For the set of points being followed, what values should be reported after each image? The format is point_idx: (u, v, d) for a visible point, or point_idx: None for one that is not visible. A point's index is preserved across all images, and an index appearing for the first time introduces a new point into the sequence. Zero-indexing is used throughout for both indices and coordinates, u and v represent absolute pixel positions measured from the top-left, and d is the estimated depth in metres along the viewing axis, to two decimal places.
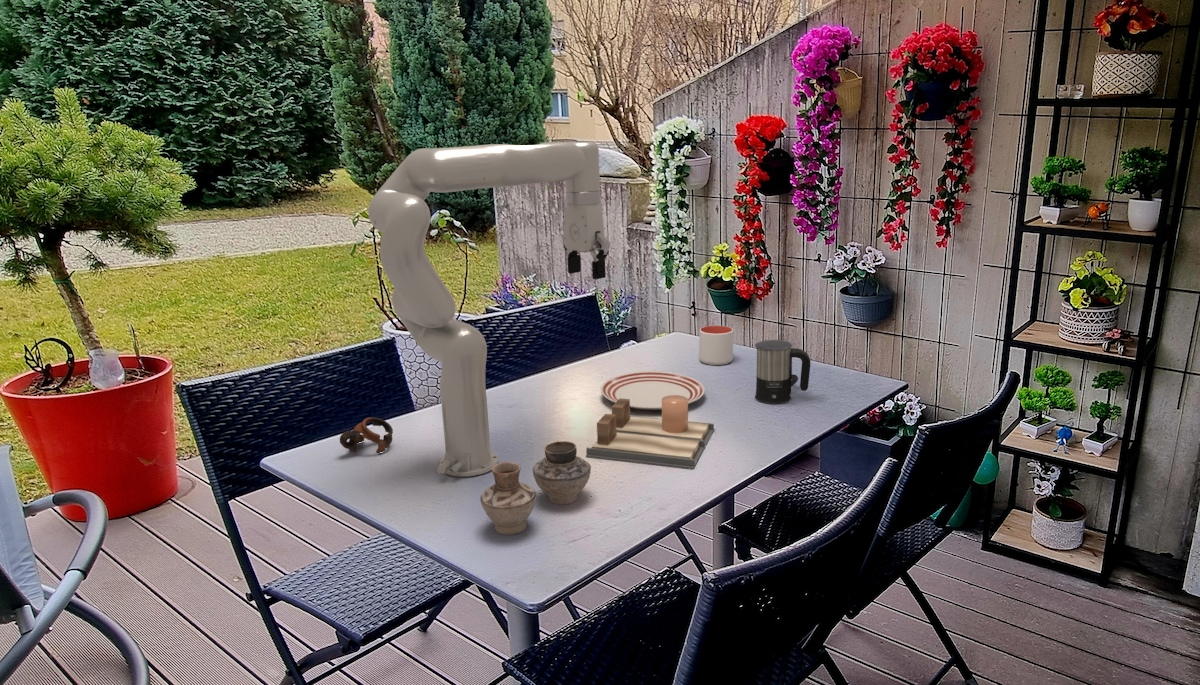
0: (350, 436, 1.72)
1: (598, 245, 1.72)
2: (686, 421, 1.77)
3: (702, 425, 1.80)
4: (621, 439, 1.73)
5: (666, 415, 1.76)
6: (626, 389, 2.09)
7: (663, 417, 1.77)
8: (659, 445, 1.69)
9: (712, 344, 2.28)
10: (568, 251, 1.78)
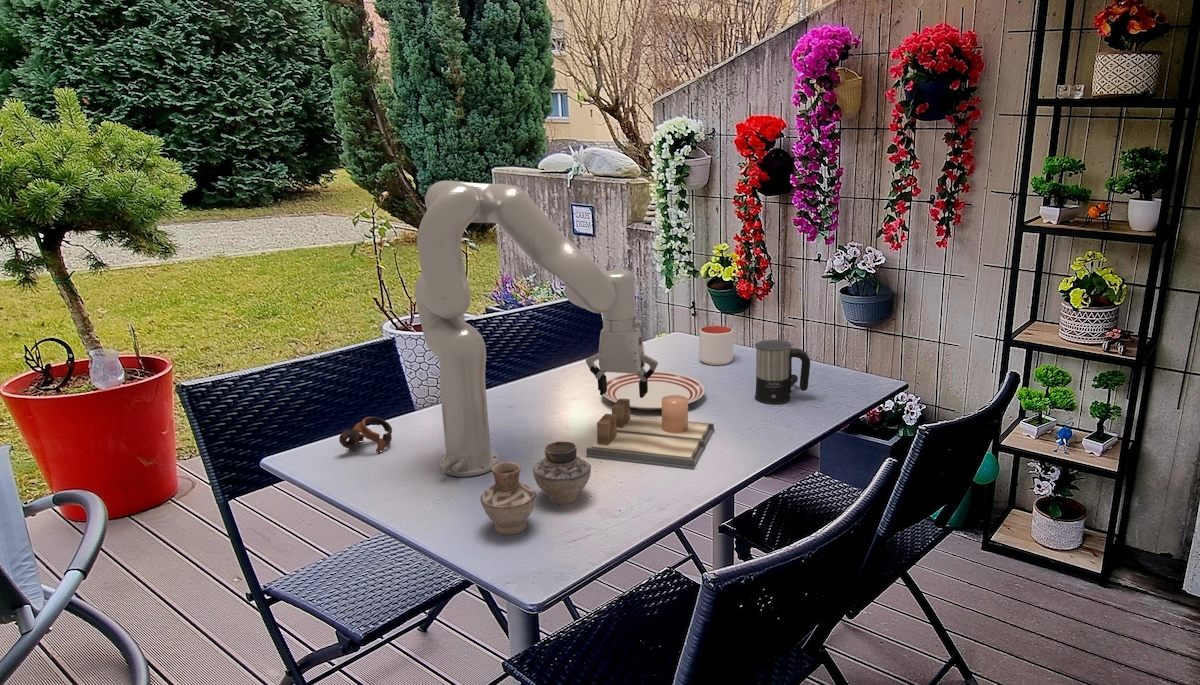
0: (350, 435, 1.72)
1: None
2: (686, 421, 1.77)
3: (702, 425, 1.80)
4: (621, 439, 1.73)
5: (666, 415, 1.76)
6: (626, 389, 2.09)
7: (663, 417, 1.77)
8: (659, 445, 1.69)
9: (712, 344, 2.28)
10: None
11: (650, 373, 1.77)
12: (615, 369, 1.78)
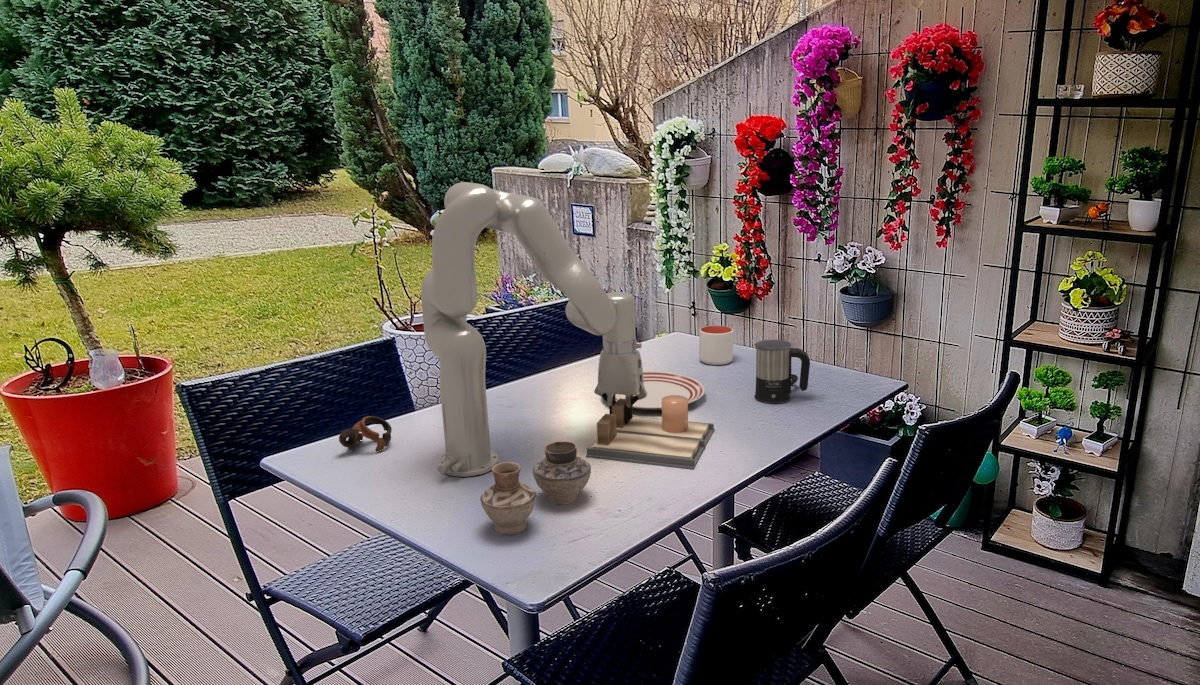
0: (349, 434, 1.73)
1: None
2: (686, 421, 1.77)
3: (702, 425, 1.80)
4: (621, 439, 1.73)
5: (666, 415, 1.76)
6: None
7: (663, 417, 1.77)
8: (659, 445, 1.69)
9: (712, 344, 2.28)
10: None
11: (635, 399, 1.79)
12: (614, 390, 1.79)
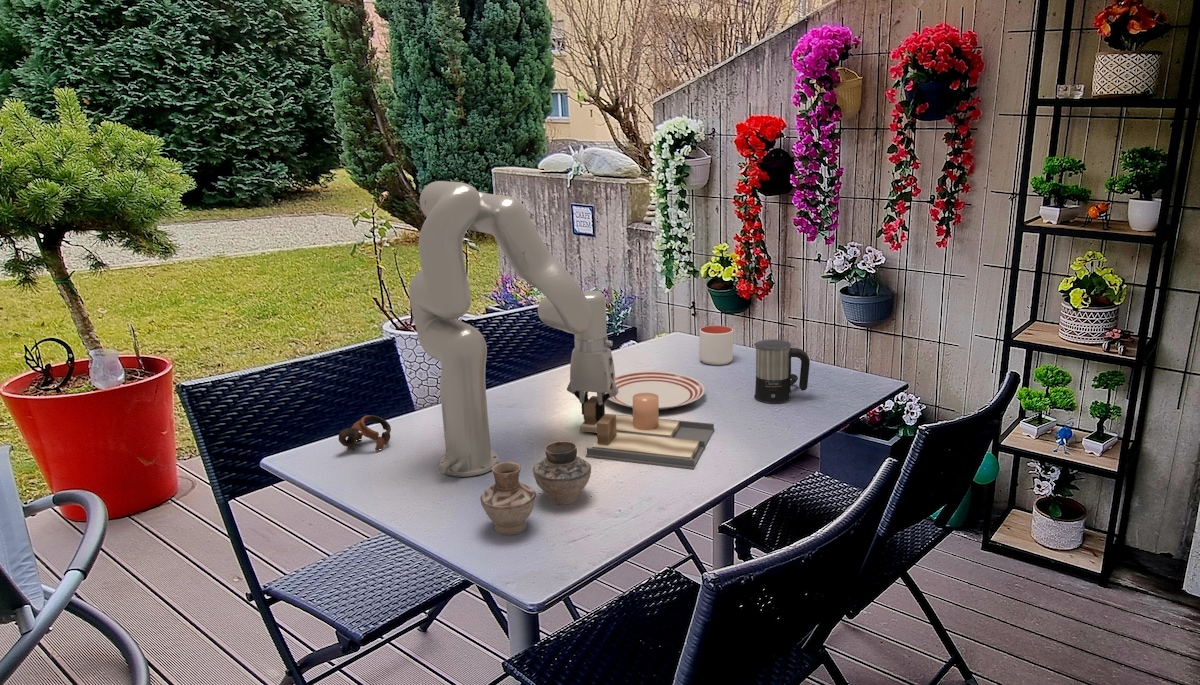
0: (349, 434, 1.73)
1: None
2: (656, 418, 1.79)
3: (673, 422, 1.82)
4: (621, 439, 1.73)
5: (637, 412, 1.78)
6: (626, 389, 2.09)
7: (634, 414, 1.79)
8: (659, 445, 1.69)
9: (712, 344, 2.28)
10: None
11: (607, 397, 1.81)
12: (585, 388, 1.81)
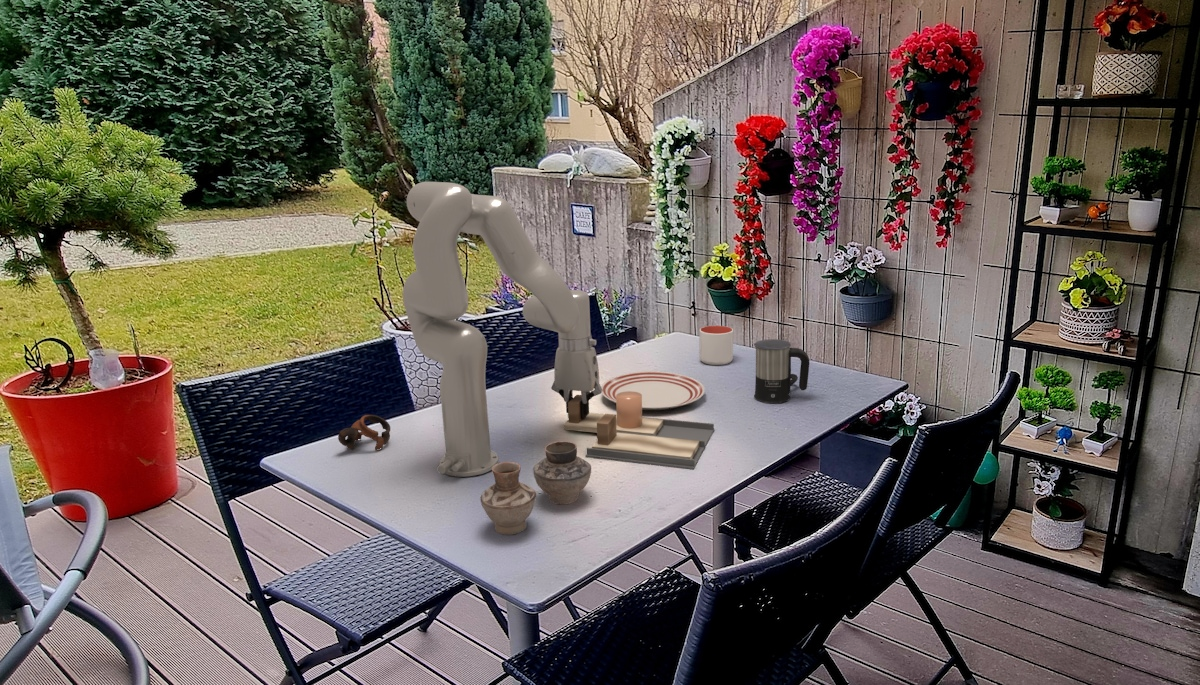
0: (349, 433, 1.74)
1: None
2: (640, 417, 1.80)
3: (656, 421, 1.83)
4: (621, 439, 1.73)
5: (620, 411, 1.79)
6: (626, 389, 2.09)
7: (617, 413, 1.80)
8: (659, 445, 1.69)
9: (712, 344, 2.28)
10: None
11: (591, 395, 1.83)
12: (570, 387, 1.82)
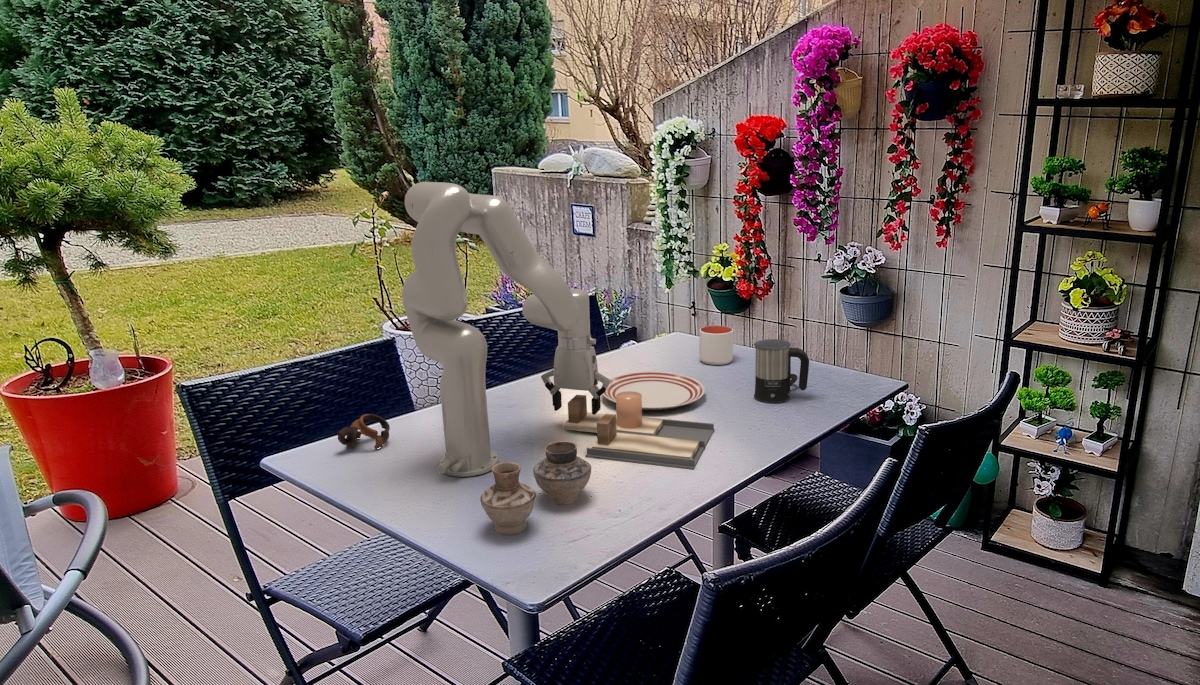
0: (348, 432, 1.74)
1: None
2: (640, 417, 1.80)
3: (656, 421, 1.83)
4: (621, 439, 1.73)
5: (620, 411, 1.79)
6: (626, 389, 2.09)
7: (617, 413, 1.80)
8: (659, 445, 1.69)
9: (712, 344, 2.28)
10: None
11: (602, 391, 1.81)
12: (569, 386, 1.82)
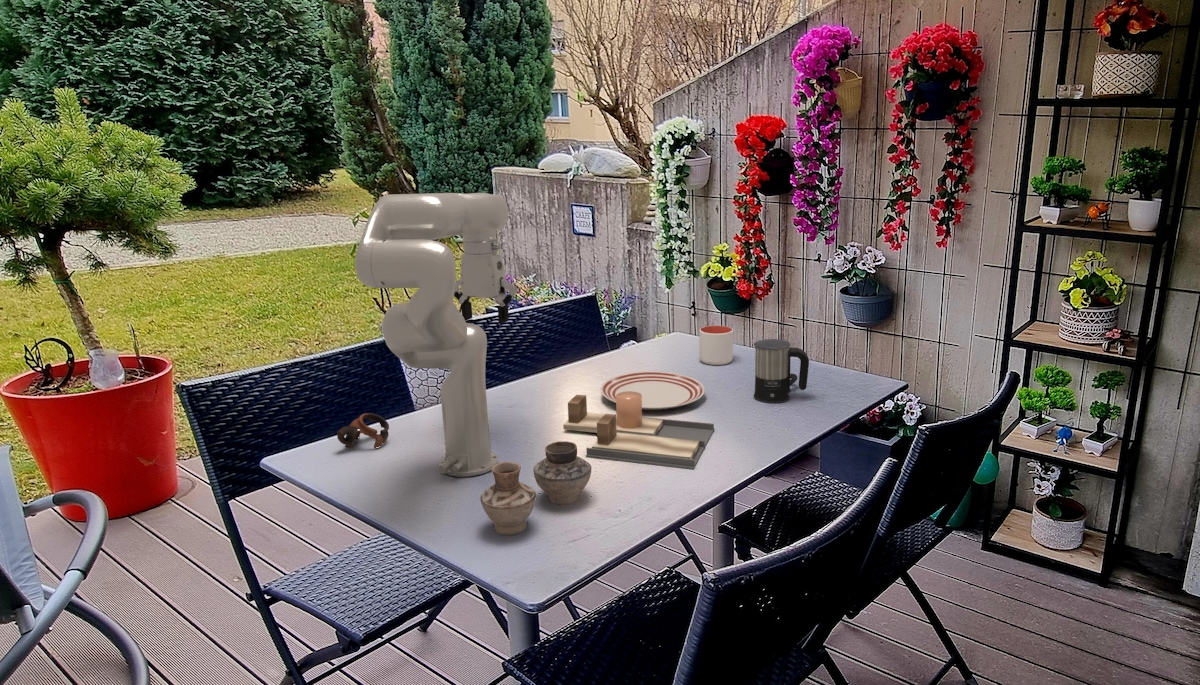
0: (348, 432, 1.75)
1: None
2: (640, 417, 1.80)
3: (656, 421, 1.83)
4: (621, 439, 1.73)
5: (620, 411, 1.79)
6: (626, 389, 2.09)
7: (617, 413, 1.80)
8: (659, 445, 1.69)
9: (712, 344, 2.28)
10: None
11: (508, 298, 1.76)
12: (475, 293, 1.78)
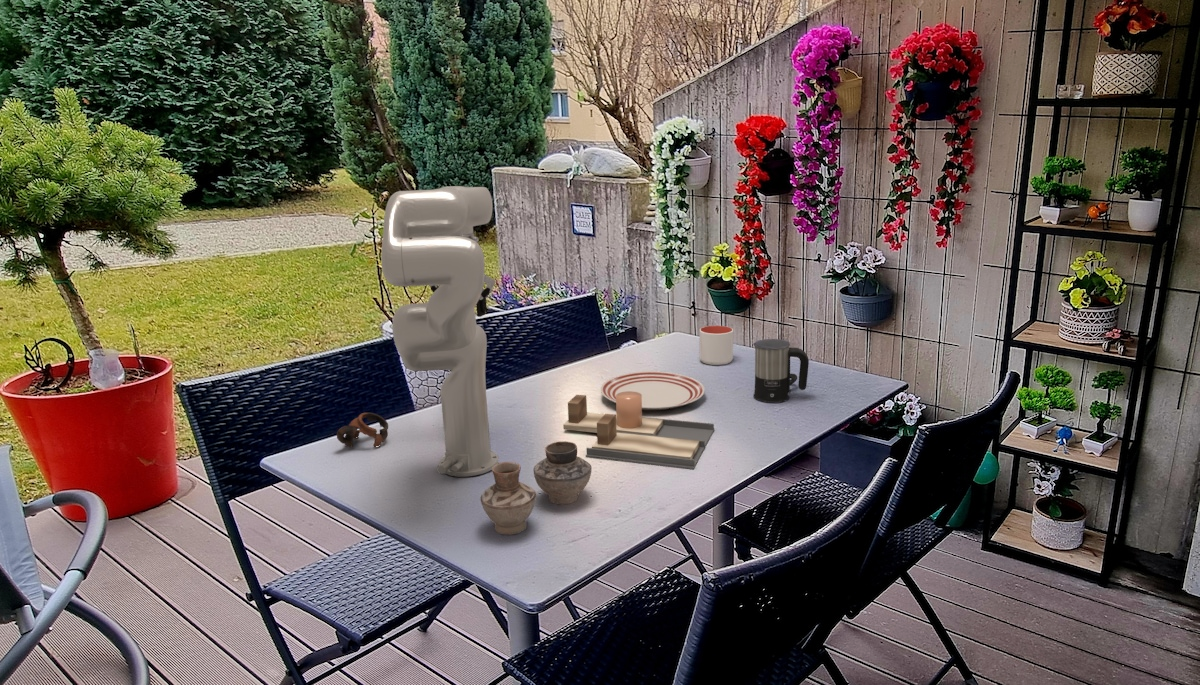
0: (347, 431, 1.75)
1: None
2: (640, 417, 1.80)
3: (656, 421, 1.83)
4: (621, 439, 1.73)
5: (620, 411, 1.79)
6: (626, 389, 2.09)
7: (617, 413, 1.80)
8: (659, 445, 1.69)
9: (712, 344, 2.28)
10: None
11: (486, 291, 1.76)
12: None
